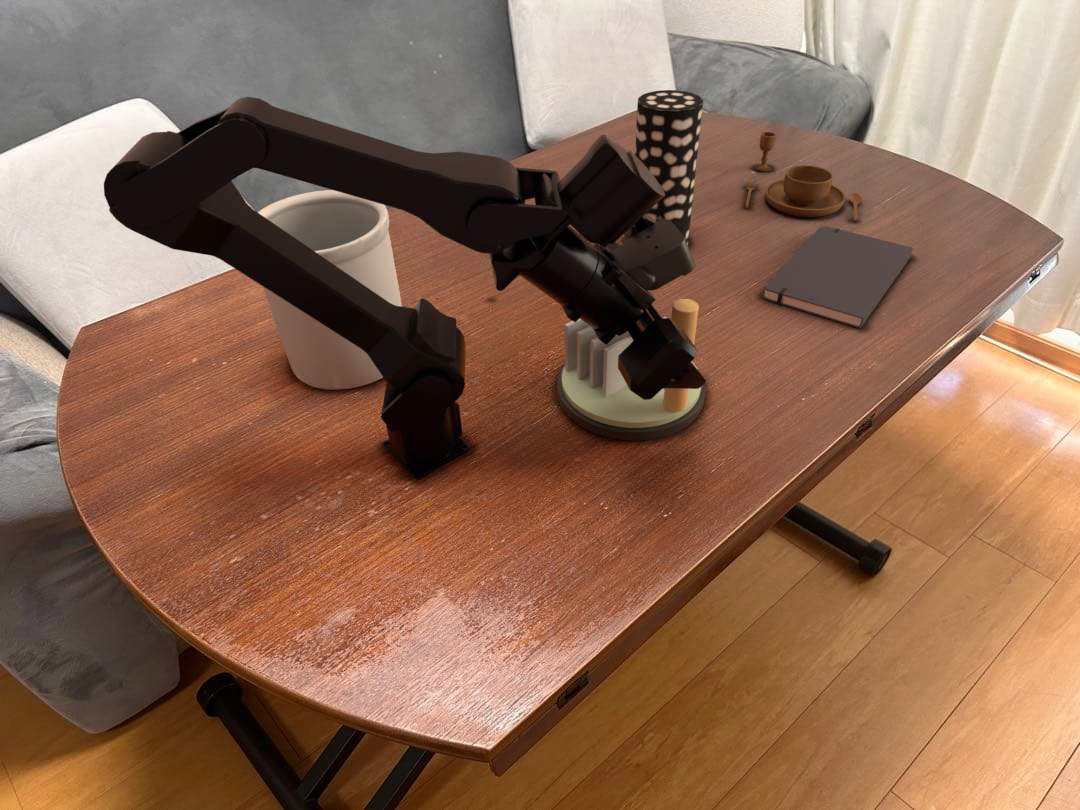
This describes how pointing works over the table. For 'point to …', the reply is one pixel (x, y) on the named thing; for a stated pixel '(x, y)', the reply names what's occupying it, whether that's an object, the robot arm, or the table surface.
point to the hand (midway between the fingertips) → (683, 356)
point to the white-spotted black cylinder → (670, 150)
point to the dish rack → (620, 377)
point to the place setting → (801, 188)
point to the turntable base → (628, 433)
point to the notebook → (838, 275)
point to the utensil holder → (357, 249)
